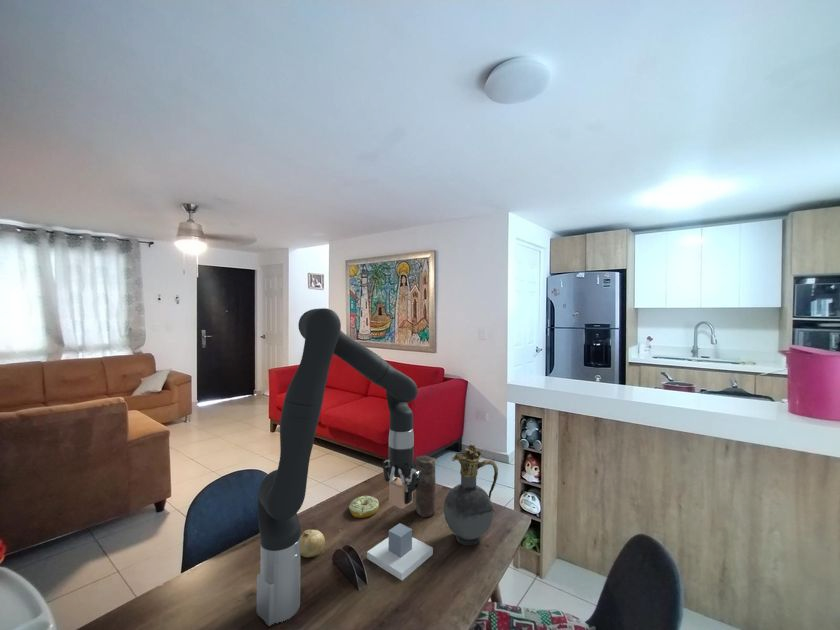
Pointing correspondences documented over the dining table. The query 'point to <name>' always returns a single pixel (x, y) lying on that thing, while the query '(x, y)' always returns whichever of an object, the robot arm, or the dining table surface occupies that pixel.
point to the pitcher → (469, 500)
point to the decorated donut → (364, 506)
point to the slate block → (400, 540)
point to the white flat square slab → (397, 564)
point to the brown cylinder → (426, 486)
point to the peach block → (397, 494)
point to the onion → (311, 543)
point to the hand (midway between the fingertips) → (400, 499)
